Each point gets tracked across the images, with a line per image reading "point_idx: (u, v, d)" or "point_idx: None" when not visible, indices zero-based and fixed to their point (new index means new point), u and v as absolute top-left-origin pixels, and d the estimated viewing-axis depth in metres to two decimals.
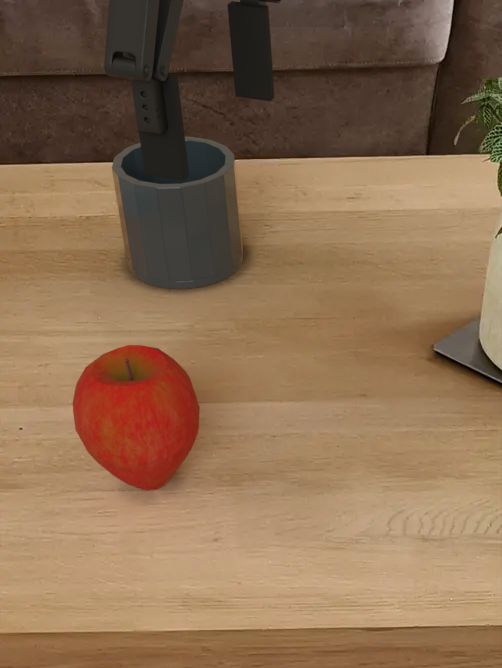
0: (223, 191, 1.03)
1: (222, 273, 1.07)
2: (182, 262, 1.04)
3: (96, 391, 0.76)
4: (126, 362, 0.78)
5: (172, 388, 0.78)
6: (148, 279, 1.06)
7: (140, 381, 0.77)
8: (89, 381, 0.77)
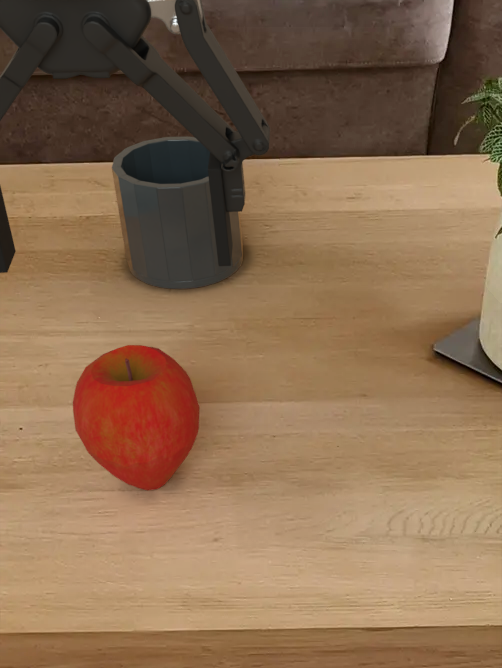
0: None
1: (222, 273, 1.07)
2: (182, 262, 1.04)
3: (96, 391, 0.76)
4: (126, 362, 0.78)
5: (172, 388, 0.78)
6: (148, 279, 1.06)
7: (140, 381, 0.77)
8: (89, 381, 0.77)
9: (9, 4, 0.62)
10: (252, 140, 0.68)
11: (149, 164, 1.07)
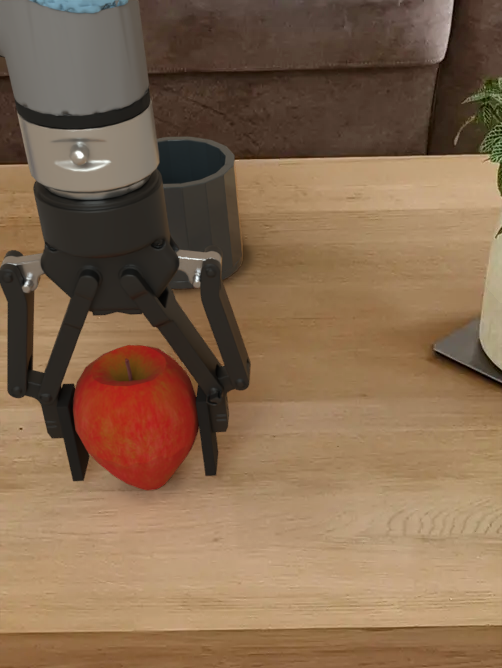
0: (223, 191, 1.03)
1: (222, 273, 1.07)
2: None
3: (96, 391, 0.76)
4: (126, 362, 0.78)
5: (172, 388, 0.78)
6: None
7: (140, 381, 0.77)
8: (89, 381, 0.77)
9: (56, 259, 0.72)
10: (236, 378, 0.78)
11: None
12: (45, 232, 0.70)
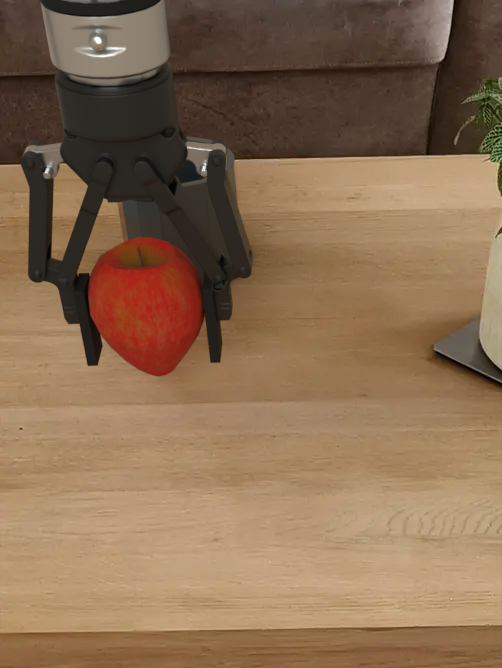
0: None
1: None
2: None
3: (110, 275, 0.83)
4: (137, 250, 0.84)
5: (180, 274, 0.84)
6: None
7: (150, 267, 0.83)
8: (104, 267, 0.83)
9: (75, 147, 0.78)
10: (239, 266, 0.85)
11: None
12: (65, 118, 0.76)
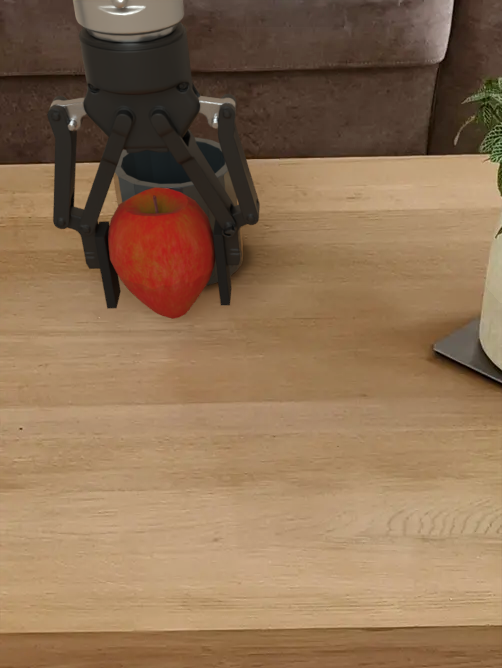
0: None
1: None
2: None
3: (129, 221, 0.90)
4: (154, 198, 0.91)
5: (193, 220, 0.91)
6: None
7: (166, 213, 0.90)
8: (123, 213, 0.91)
9: (97, 100, 0.85)
10: (247, 213, 0.92)
11: (149, 164, 1.07)
12: (89, 73, 0.83)
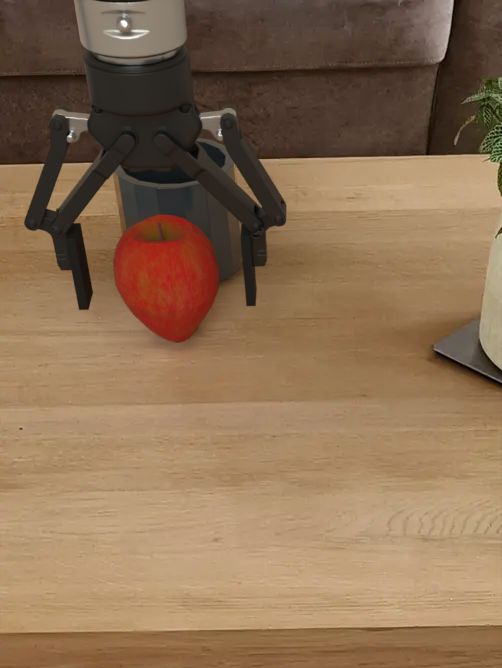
0: None
1: (222, 273, 1.07)
2: None
3: (134, 248, 0.92)
4: (158, 226, 0.93)
5: (197, 247, 0.93)
6: None
7: (170, 240, 0.92)
8: (128, 241, 0.92)
9: (101, 121, 0.86)
10: (274, 216, 0.92)
11: None
12: (93, 95, 0.84)
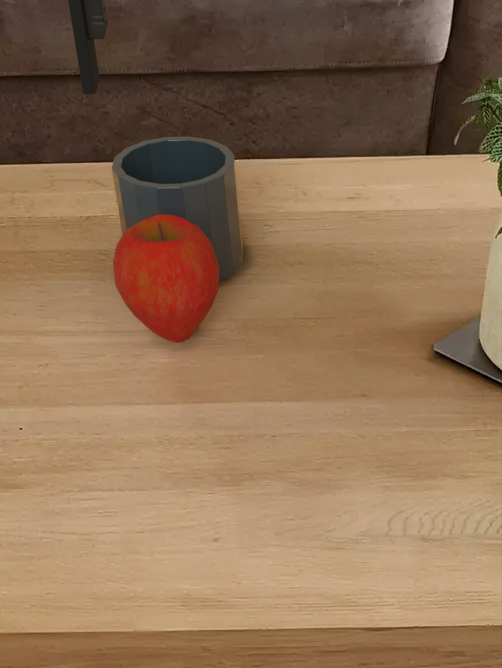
0: (223, 191, 1.03)
1: (222, 273, 1.07)
2: None
3: (134, 248, 0.92)
4: (158, 226, 0.93)
5: (197, 247, 0.93)
6: None
7: (170, 240, 0.92)
8: (128, 241, 0.92)
9: None
10: None
11: (149, 164, 1.07)
12: None
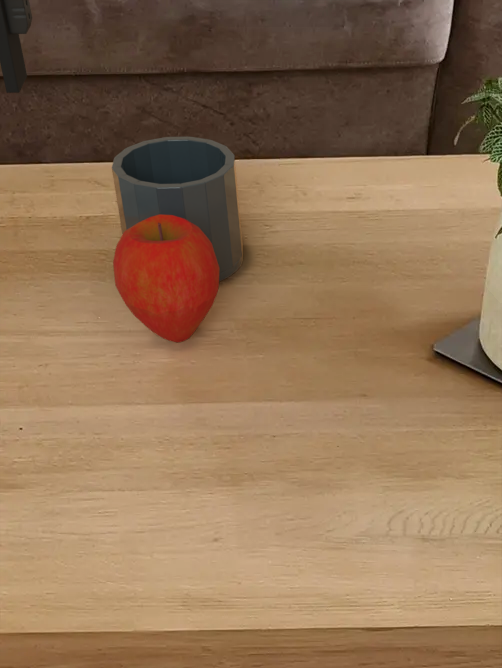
0: (223, 191, 1.03)
1: (222, 273, 1.07)
2: None
3: (134, 248, 0.92)
4: (158, 226, 0.93)
5: (197, 247, 0.93)
6: None
7: (170, 240, 0.92)
8: (128, 241, 0.92)
9: None
10: None
11: (149, 164, 1.07)
12: None
